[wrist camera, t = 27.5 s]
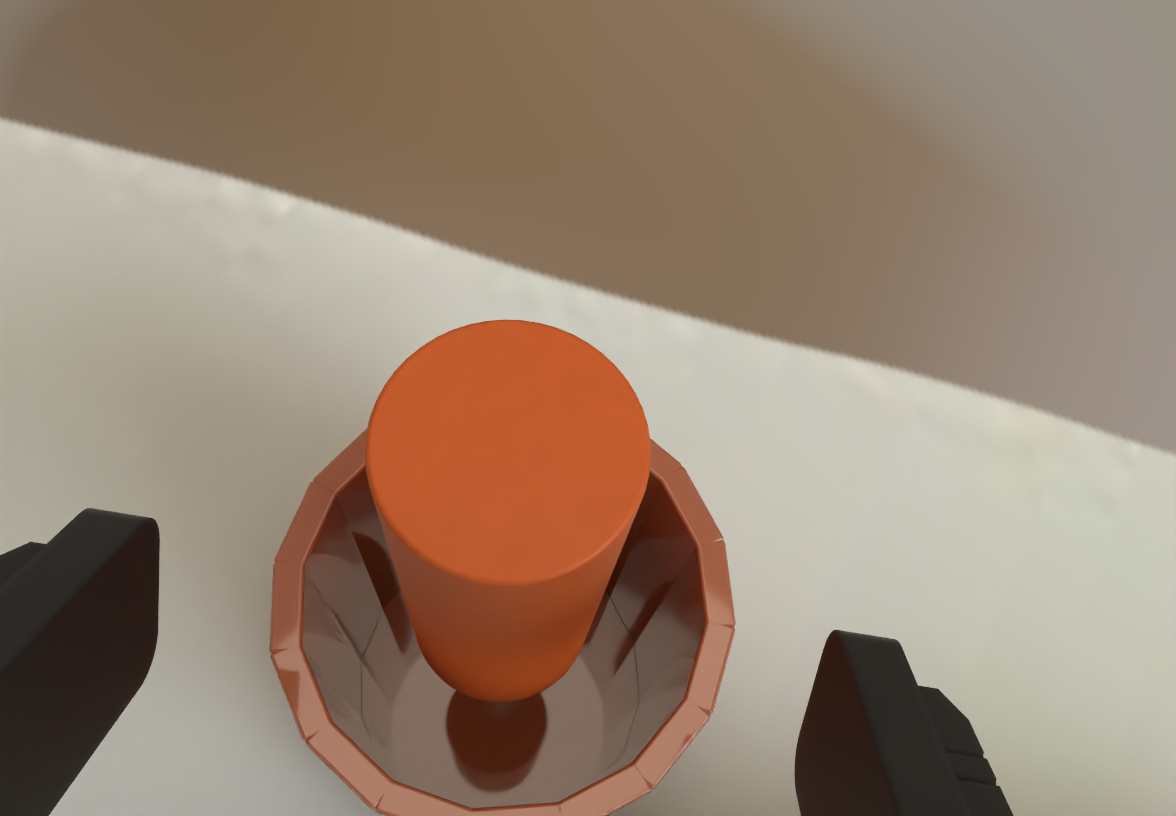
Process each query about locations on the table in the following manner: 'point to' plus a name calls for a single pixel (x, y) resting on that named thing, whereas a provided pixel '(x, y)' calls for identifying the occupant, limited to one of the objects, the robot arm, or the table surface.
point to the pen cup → (499, 729)
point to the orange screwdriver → (505, 498)
